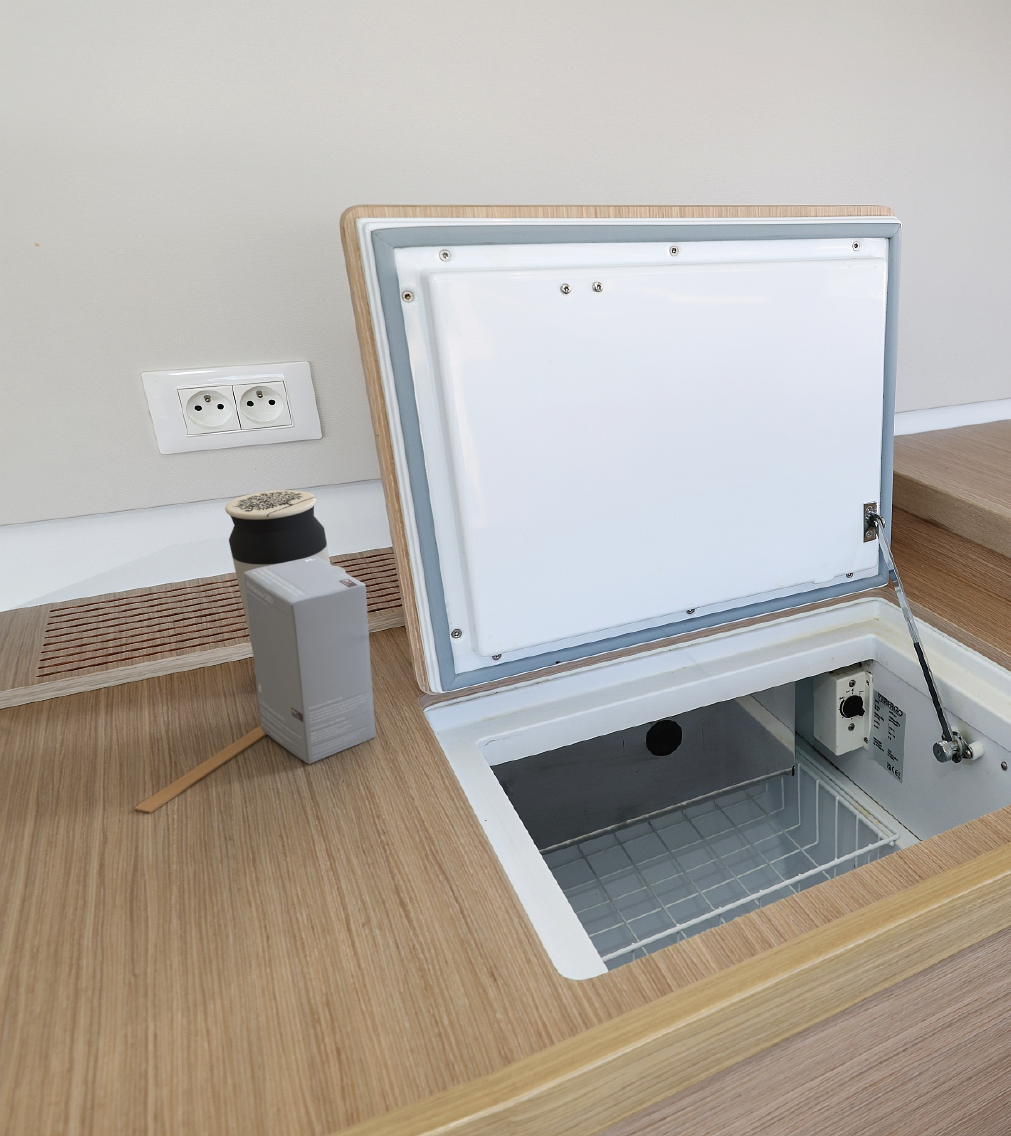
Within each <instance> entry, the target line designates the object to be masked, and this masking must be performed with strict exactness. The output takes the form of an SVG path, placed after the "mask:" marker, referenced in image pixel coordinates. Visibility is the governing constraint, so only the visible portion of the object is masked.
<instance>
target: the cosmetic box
mask: <svg viewBox="0 0 1011 1136" xmlns="http://www.w3.org/2000/svg"><path fill="white" fill-rule="evenodd" d="M243 574H244V579H245V587H246V596H247V605H248V613H249V622H250V631H251V640H252V645H251V650H252V649H253V650H252V657H253V667H254V676H255V684H256V685H255V686H256V694H257V703H258V711H259V721H260V722H259V723H260V725H261V728H262V731H263V732H265V733H266V734H267V735H266V736H269V737H270V738H271V739H273V740H274V741H275V742H276V743H278V744H279V745H280V746H281V747H283V748H285V749H286V750H287V751H288V752H289V753H291V754H293V755H294V756H295V757H297V758H298V759H300V760H301V761H303V762H304V763H306V764H308V765H310V764H312V763H315V762H317V761H320V760H322V759H325V758H327V757H329V756H331V755H334V754H337V753H340V752H341V751H345V750H347V749H350V748H352V747H355V746H357V745H359V744H362V743H364V742H366V741H368V740H372V739H373V738H375V737H376V736H377V733H376V722H375V710H374V693H373V691H374V690H373V679H372V664H371V651H370V633H369V621H368V604H367V602H368V601H367V589H366V584H365V583H364V582H362V581H360V580H358V579H357V578H356V577H355V578H354V577H353V576H352V575H349V574H347V573H346V570H345V569H344V568H343V567H342V566H338V565H332V564H331V563H330V564H329V563H327V562H326V561H324V560H322V559H321V558H319V557H317V556H312V557H307V558H303V559H299V560H294V561H289V562H285V563H280V564H275V565H270V566H265V567H260V568H256V569H252V570H249V571H246V572H244V573H243ZM251 640H250V641H251Z"/></svg>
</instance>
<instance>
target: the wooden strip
mask: <svg viewBox="0 0 1011 1136" xmlns="http://www.w3.org/2000/svg"><path fill="white" fill-rule="evenodd" d="M266 736H268V735H267V734H266V733H265V732H263V731H262V728H261V724H259V725H258V726H257V727H255V728H254V729H252V730H251V731H249V732H248V733H246V734H245V735H243V736H242V737H240V738H238V739H237V740H235V741H233V743H231V744H229V745H227V747H225V748H223V749H222V750H220V751H219V752H217V753H216V754H214V755H212V756H211V757H210V758H208V759H207V760H205V761H204V762H202V763H201V764H199V765H197V766H196V767H194V768H193V769H191V770H190V771H188V772H186V773H185V774H184V775H182V776H180V777H179V778H178V779H176V780H174V781H173V782H172V783H169V784H168V785H166V786H165V787H164V788H162V789H161V790H159V791H158V792H156V793H155V794H153V795H152V796H150V797H148V798H147V799H145V800H144V801H142V802H140V803H138V805H136V806H135V807H134V808H133V809H134V811H137V812H143V813H146V814H152V813H154V812H155V811H156V810H158V809H159V808H160V807H162V806H164V805H165V804H167V803H168V802H169V801H171V800H173V799H174V798H175V797H177V796H178V795H180V794H181V793H183V792H184V791H186V790H187V789H188V788H190V787H192V786H193V785H195V784H196V783H198V782H200V781H201V780H203V779H204V778H205V777H206V776H208V775H209V774H212V773H213V772H214V771H216V770H217V769H219V768H220V767H221V766H223V765H224V764H226V763H227V762H229V761H230V760H232V759H234V758H235V757H237V756H238V755H239V754H241V753H242V752H244V751H245V750H247V749H248V748H250V747H251V746H252V745H254V744H255V743H257V742H258V741H261V740H262V739H263V738H265V737H266Z"/></svg>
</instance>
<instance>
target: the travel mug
mask: <svg viewBox="0 0 1011 1136" xmlns="http://www.w3.org/2000/svg"><path fill="white" fill-rule="evenodd" d="M316 504H317V498H316V496H315V495H314V494H312V493H310V492H307V491H304V490H303V491H301V490H296V489H276V490H275V489H274V490H268V491H267V490H265V491H259V492H258V491H257V492H253V493H249V494H246V495H242V496H239V497H236V498H234V499H233V500H230V501H229V502H228V503H227V504H226V505H225V506H224V507H225V508H224V511H225V513H226V514H227V515H229V516H230V519H231V521H232V523H233V528H232V530H231V532H230V535H229V538H228V543H229V548H230V553H231V558H232V561H233V566H234V567H233V568H234V571H235V576H236V580H237V584H238V589H239V594H240V598H241V602H242V607H243V613H244V618H245V622H246V626H247V627H246V628H247V631H248V635H249V640H250V644H251V645H250V646H252V640H251V631H250V622H249V613H248V605H247V596H246V587H245V579H244V574H243V573H244V572H246V571H249V570H252V569H256V568H260V567H265V566H270V565H275V564H280V563H285V562H289V561H294V560H299V559H303V558H307V557H312V556H317V557H319V558H321V559H322V560H324V561H326V562H327V563H329V564H331V558H330V553H329V548H328V543H327V537H326V529H325V527H324V525H323V524H322V523H321V522H320V521H319V520H318V518H316V516H315V505H316ZM251 650H252V651H253V649H252V648H251Z"/></svg>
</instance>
